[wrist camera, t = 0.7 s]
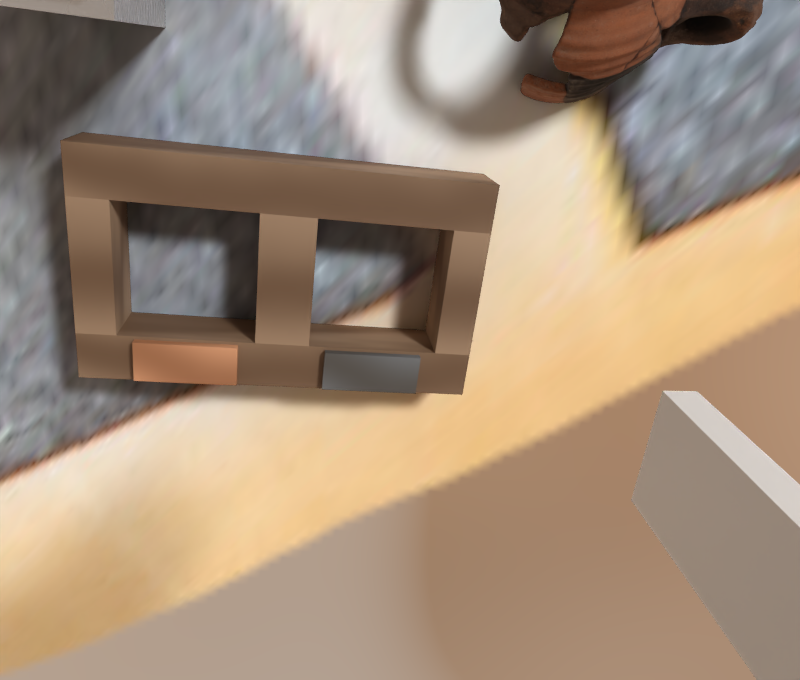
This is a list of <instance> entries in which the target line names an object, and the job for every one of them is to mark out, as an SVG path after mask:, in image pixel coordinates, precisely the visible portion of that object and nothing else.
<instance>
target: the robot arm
mask: <svg viewBox="0 0 800 680" xmlns="http://www.w3.org/2000/svg"><path fill="white" fill-rule="evenodd" d="M631 500H632V502H633V503H634V505H635V506H636V508H637V509H638V511H639V512H640V513H641V515H642V516H643V518H644V519H645V521H646V522H647V523H648V525H649V526H650V528H651V529H652V531H653V532H654V533H655V535H656V536H657V538H658V539H659V541H660V542H661V543H662V545H663V546H664V548H665V549H666V550H667V552H668V553H669V555H670V556H671V557H672V559H673V561H674V562H675V564H676V565H677V566H678V568H679V569H680V571H681V572H682V573H683V575H684V576H685V578H686V579H687V581H688V582H689V583H690V585H691V586H692V588H693V589H694V591H695V592H696V593H697V595H698V596H699V598H700V599H701V601H702V602H703V604H704V605H705V606H706V608H707V609H708V611H709V612H710V613H711V615H712V616H713V618H714V619H715V621H716V622H717V624H718V625H719V626H720V628H721V629H722V631H723V632H724V634H725V635H726V637H727V638H728V639H729V641H730V642H731V644H732V645H733V646H734V648H735V649H736V651H737V652H738V654H739V655H740V657H741V658H742V659H743V661H744V662H745V664H746V665H747V666H748V668H749V669H750V671H751V672H752V674H753V675H754V677H755V678H756V679H757V680H800V485H799V484H798V483H797V482H796V481H795V480H794V479H793V478H792V477H790V476H789V475H788V474H787V473H786V472H785V471H784V470H783V469H782V468H781V467H780V466H779V465H777V464H776V463H775V462H774V461H773V460H772V459H771V458H770V457H769V456H768V455H766V454H765V453H764V452H763V451H762V450H761V449H760V448H759V447H757V445H755V444H754V443H753V442H752V441H751V440H750V439H749V438H748V437H747V436H746V435H744V434H743V433H742V432H741V431H740V430H739V429H738V428H737V427H736V426H735V425H733V424H732V423H731V422H730V421H729V420H728V419H727V418H726V417H725V416H724V415H722V414H721V413H720V412H719V411H718V410H717V409H716V408H715V407H714V406H713V405H712V404H710V403H709V402H708V401H707V400H706V399H705V398H704V397H703V396H702V395H700V394H699V393H698V392H697V391H662V395H661V398H660V402H659V405H658V409H657V412H656V416H655V419H654V423H653V426H652V430H651V433H650V437H649V440H648V444H647V447H646V450H645V454H644V458H643V461H642V465H641V468H640V472H639V475H638V478H637V482H636V485H635V489H634V493H633V496H632V499H631Z"/></svg>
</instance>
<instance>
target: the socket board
mask: <svg viewBox="0 0 800 680" xmlns="http://www.w3.org/2000/svg"><path fill="white" fill-rule="evenodd" d="M60 143H61V156H62V168H63V181H64V194H65V207H66V220H67V232H68V245H69V258H70V271H71V283H72V296H73V309H74V322H75V334H76V347H77V360H78V373H79V377H87V378H108V379H130V380H134V381H150V382H172V383H194V384H216V385H237V384H240V385H262V386H284V387H306V388H322V389H327V390H349V391H371V392H393V393H415V394H416V393H438V394H460V395H462V393H463V388H464V382H465V376H466V371H467V365H468V360H469V354H470V348H471V343H472V337H473V332H474V326H475V320H476V315H477V309H478V304H479V298H480V292H481V287H482V281H483V276H484V270H485V264H486V259H487V253H488V248H489V242H490V236H491V231H492V225H493V219H494V214H495V208H496V203H497V197H498V191H499V186H500V185H498V184H497V183H495V182H494V181H493V180H491V179H490V178H488V177H487V176H486V175H484V174H478V173H468V172H458V171H449V170H439V169H430V168H420V167H411V166H401V165H391V164H382V163H372V162H363V161H353V160H344V159H334V158H324V157H315V156H305V155H296V154H286V153H277V152H267V151H257V150H248V149H238V148H229V147H219V146H210V145H200V144H190V143H181V142H171V141H162V140H152V139H143V138H133V137H123V136H114V135H104V134H95V133H85V132H82V133H79V134H77V135H74V136H71V137H69V138H66V139H63V140H61V141H60ZM127 202H137V203H149V204H160V205H171V206H183V207H194V208H205V209H216V210H228V211H239V212H250V213H260V226H259V252H258V278H257V305H256V320H249V319H233V318H217V317H201V316H184V315H168V314H152V313H136V312H131V289H130V265H129V241H128V217H127ZM318 219H329V220H340V221H352V222H363V223H374V224H385V225H397V226H408V227H419V228H430V229H440V235H439V242H438V248H437V255H436V262H435V269H434V276H433V282H432V289H431V296H430V303H429V309H428V316H427V323H426V330H411V329H394V328H378V327H362V326H346V325H330V324H314V323H311V309H312V296H313V282H314V268H315V255H316V241H317V227H318Z"/></svg>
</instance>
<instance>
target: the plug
mask: <svg viewBox="0 0 800 680" xmlns="http://www.w3.org/2000/svg"><path fill="white" fill-rule="evenodd" d="M0 6H6V7H13V8H21V9H28V10H35V11H42V12H50V13H57V14H65V15H72V16H80V17H87V18H95V19H102V20H110V21H117V22H125V23H133V24H140V25H148V26H155V27H163V28H165V0H0Z"/></svg>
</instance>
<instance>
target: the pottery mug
mask: <svg viewBox="0 0 800 680" xmlns="http://www.w3.org/2000/svg"><path fill="white" fill-rule="evenodd" d="M499 1H500V5H501V9H502V11H501V17H500V23H501V26H502V28H503V29H504V30H505V31H506V33H507V34H508V35H509V36H510V37H511V39H513V40H514V41H517V42H519V41H521V40H522V39H523V38H524V36H525V35H526V33H527V32H528V30H529V28H530V27H535V26H538V25H540V24H542V23H543V22H545V21H547V20H548V19H551V18H553V17H556V16H559V15H561V14H564V13H567V12H568V13H569V15H568V19H567V22H566V24H565V27H564V31H563V33H562V36H561V38H560V40H559V43H558V44H557V46H556V47H555V49H554V51H553V54H552V58H553V59H554V60H553V61H554V64H555V66H556V67H557V69H558V70H561V71H564V72H570V73H569V76H568V81H569V82H568V83H566V84H564V83H559V82H553V81H550V80H546V79H543V78H540V77H537V76H534V75H531V74H526V75H525V76H524V78H523V80H522V83H521V86H522V87H521V93H522V94H523V95H525V96H527V97H530V98H532V99H535V100H538V101H543V102H549V103H570V102H576V101H579V100H583V99H586V98H589V97H591V96H593V95H595V94H597V93H599V92H600V91H602V90H603V89H605V88H606V87H607V86H609V85H610V84H611V83H613V82H614V81H616V80H617V79H619V78H621V77H623V76H625V75H626V74H628V73H629V72H631V71H632V70H633V69H635V68H637V67H638V66H640V65H641V64H643V63H644V62H645V61H647V60H648V59H650V58H651V57H652V56H653V54H654V53H655V52H656V51H657V50H658V48H660V47H663V46H666V45H672V44H680V43H685V44H690V45H718V44H725V43H730V42H733V41H735V40H738V39H740V38H742V37H743V36H744V35H745V34H746V33H747V32H748V31H749V30H750V29H751V28H753V27H754V25H755V24H756V21H757V19H758V18H759V17H760V16H761V14H762V8H763V5H762V4H763V0H499Z"/></svg>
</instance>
